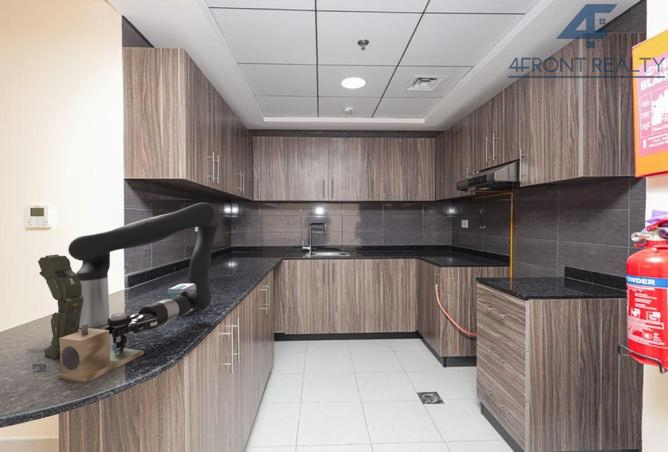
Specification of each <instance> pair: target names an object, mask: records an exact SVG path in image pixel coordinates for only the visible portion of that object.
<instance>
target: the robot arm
mask: <svg viewBox="0 0 668 452" xmlns="http://www.w3.org/2000/svg"><path fill="white" fill-rule="evenodd" d="M220 218H221V216H220V212H219V210H218V209H217V208H216V206H215V207H214V205H211V204H210V203H208V202H198V203H195V204H192V205H190V206H187V207H185V208H182V209H179V210H177V211H174V212H169V213H165V214H161V215H156V216H153V217H148V218H144V219H141V220H137V221H134V222H131V223H128V224H124V225H123V226H120V227H116V228H114V229H111V230H107V231H103V232H98V233H94V234H92V233H91V234H87V235H86V234H85V235H81V236H78V237H76V238H74V239H73V240H72V241H71V242H70V244H69V245H68V254H69V255H70V256H71V257H72V258H73V259H75V260H78V261H81V262H82V264H81V267H80V268H79V269H78V271H76V272H75V273H76V274H77V275H78V277H79V280H80V282H81V285H82V296H83V298H84V299H83V306H82V310H81V317H80V324H79V329H82V327H81V325H83V324H88V328H92V329H95V328H99V327H102V326H105V325H108V322H107V319H109V318H111V316H110V298H109V274H108V273H109V270H110V267H111V265H110V264H111V253H112V252H114V251H119V250H125V249H131V248H137V247H143V246H147V245H151V244H154V243H157V242H160V241H163V240H165V239H168V238H169V237H171V236H173V235H175V234H176V233H178V232H180V231H184V230H188V229H193V228H197V239H196V244H195V246H194V249H193V251H192V255H191V258H190V261H189V262H190V263H189V267H188V268H189V270H188V275H187V278H188V280H187V281H189V282H190V284H195V285H196V290H193V289H190V290H185V291H183V292H181V293H180V294H178V295H177V296H176V297H173V298H170V299H169V298H167V299H163V300H159V301H156V302H153V303H150V304H148V305H145V306H143V307H141V309H140V310H139V312H138V313H135V314H132V315H129V316H130V319H129V323H127V324H126V325H124V326H121V327H119V328H114V327H111V326H109V325H108V326H105V327H102V328H101V330H109V336H110V335H111V336H112V339H113V338H117V337H119V336H121V335H124V336H125V335H126V334H133V333H134V334H138V333H141V332H146V331H152V330H154V329H157V328H159V327H162V326H163V325H166V324H168V323H170V322H172V321H174V320H176V319H178V318H180V317H182V316H185V315H184V314H186V313H187V312H188V311H189V309H194V310H195V311H196V310H197V311H203V310H206V309H207V308H208V307H209V306H210V304H211V302H212V293H211V286H210V281H209V276H210V268H211V267H210V266H211V259H212V252H213V245H214V241H215V236H216V232H217V230H218V226H219V222H220ZM187 314H188V313H187ZM187 314H186V315H187Z"/></svg>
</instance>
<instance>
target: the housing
mask: <svg viewBox="0 0 668 452" xmlns="http://www.w3.org/2000/svg"><path fill="white" fill-rule="evenodd" d="M81 327H82V328H81V330H80V331H79V330H78V332H76V333H73V334H70V335H67V336H64V337H61V338H59V342H60V359H59V360H60V373H59V374H58V375H57V376H58V379H61V380H66V381H72V382H78V383H84V384H86V383H88V382H90V381H92V380H95V379H96V378H99V377H100V376H102V375H104V374H106V373H108V372H110V371H113V370H116V368H119V367H121V366H122V365H125V364H127V363H128V362H131V361H133V360H135V359H136V358H137V359H138V358H139V357H141V356H143V355H144V353H145V352H144V350H141V349H135V348H134V349H132V348H126V347H125V348H124V350H123V352H122V353H119V354H115V353H114V351H113V350H111V346H110V345H111V344H110V335H109V330H101V329H102V328H101V329H100V328H88V324H83V325H81Z"/></svg>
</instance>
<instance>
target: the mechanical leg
mask: <svg viewBox="0 0 668 452" xmlns="http://www.w3.org/2000/svg"><path fill="white" fill-rule="evenodd" d="M37 263H38V266H39V268H40V272H39V275H40V276H41V277H43V278H44V280H45V283H46V285H47V286H48V288H49V291H50V293H51V296H52V298H53V299H54V300H55V301H57V308H58V310H57V312H54V313H52V315H51V319H50V326H51V327H50V328H51V333H52V340H51V342H50V345H48V347H47V348H45V349H44V351H43V352H44V356H47V357H51V358H53V359H59V360H60V342H59V338H61V337H64V336H67V335H70V334H73V333H76V332H79V329H80V328H79V324H80V317H81V310H82V306H83V299H84V298H83V296H82V285H81V282H80V280H79V277H78V275H77V274H76V273H77V272H74V271H73V269H72V266H71V261H70V259H69V258H68V257H67V256H66V255H59V254H51V255H50V254H49V255H44V256H43V257H40V258H39V259H38V261H37Z"/></svg>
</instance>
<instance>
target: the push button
mask: <svg viewBox="0 0 668 452" xmlns="http://www.w3.org/2000/svg"><path fill="white" fill-rule="evenodd" d="M130 316H131V315H130V314H129V315H127V313H126V312H118V313H114V314H113V313H112V315H110V318H109V319H107V322H108V324H107V325H108V326H111V327H114V328H119V327H121V326H124V325H126V324H127V323H129V319H130ZM127 342H128V341H127V335H126V334H124V335H121V336H119V337H117V338H113V337H112V343H113V346H112V351H114V353H115V354H119V353H122V352H123V350H124V348H126V349H128V347H127V346H128V343H127Z"/></svg>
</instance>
